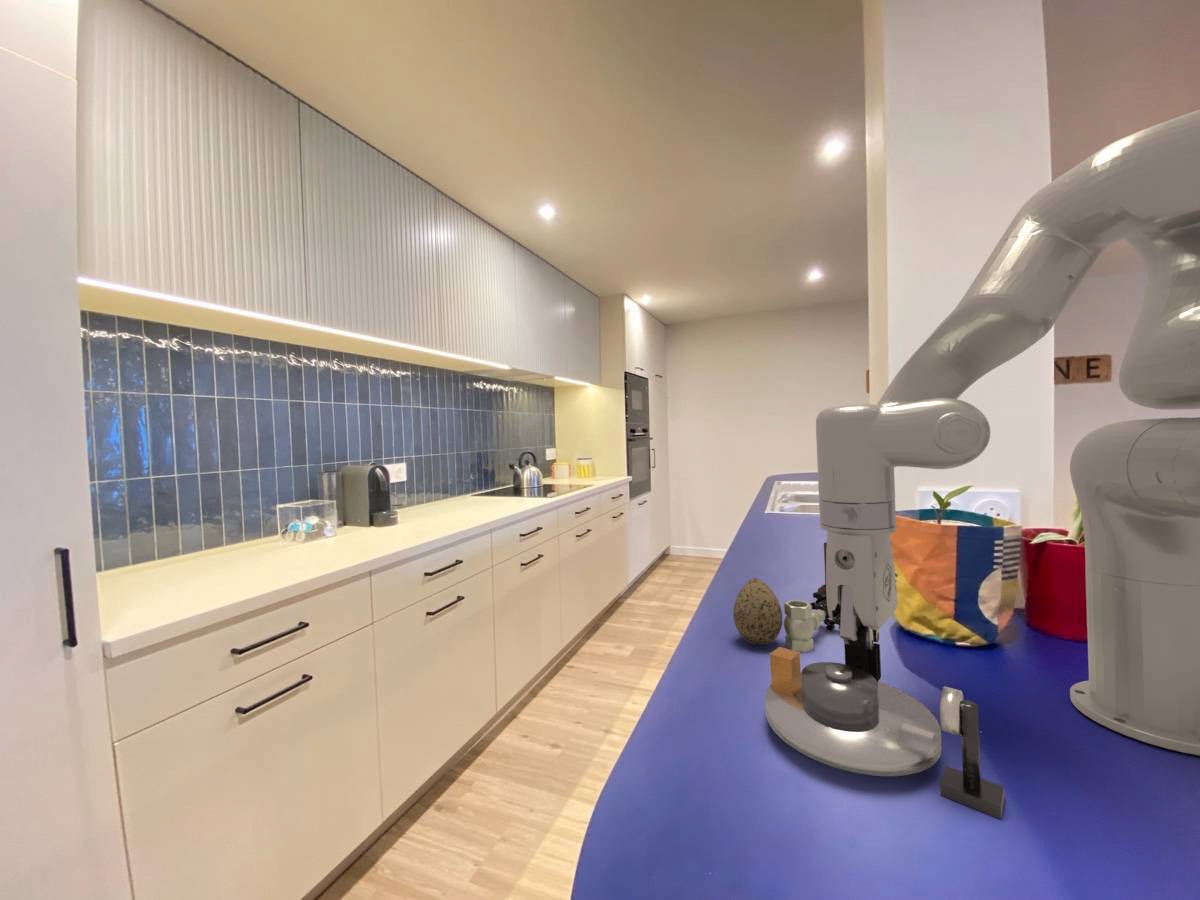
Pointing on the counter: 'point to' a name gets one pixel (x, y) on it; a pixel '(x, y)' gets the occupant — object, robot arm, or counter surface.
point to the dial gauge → (967, 757)
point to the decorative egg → (757, 613)
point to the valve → (805, 622)
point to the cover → (840, 696)
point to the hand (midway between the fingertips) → (863, 677)
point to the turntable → (886, 750)
